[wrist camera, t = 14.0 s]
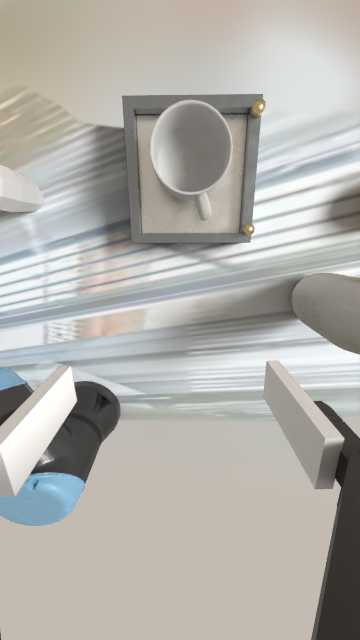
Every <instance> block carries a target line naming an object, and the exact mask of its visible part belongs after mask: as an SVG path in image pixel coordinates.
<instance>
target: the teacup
mask: <svg viewBox="0 0 360 640" xmlns="http://www.w3.org/2000/svg"><path fill="white" fill-rule="evenodd" d="M149 147H150V148H149V149H150V159H151V163H152V166H153V168H154V171H155V174H156V177H157V179H158V181H159V183H160V184H161V186H162V187H163V188H164V189H165V191H166V192H168V193H169V194H170V195H172V196H173V197H175V198H177V199H181V200H194V202H195V205H196V208H197V211H198V214H199V216H200V219H201V220H202V221H205V220H208V219H210V218H211V215H212V212H211V206H210V202H209V199H208V196H207V194H208V193H209V192H210V191H211V190H212V189H213V188H214V187H215V186H216V185H217V184H218V183H219V182H220V181H221V180H222V179H223V177H224V176H225V174H226V172H227V170H228V168H229V165H230V162H231V158H232V137H231V133H230V130H229V127H228V125H227V123H226V121H225V119H224V118H223V116H222V115H221V114H220V113H219V112H218V111H217V110H216V109H215V108H214V107H212V106H211V105H209V104H208V103H205V102H202V101H198V100H183V101H179V102H177V103H175V104H173V105H171V106H170V107H168V108H167V109H166V110H165V111H164V112H162V114H161V115H160V116H159V118H158V119H157V121H156V123H155V125H154V128H153V130H152V133H151V138H150V144H149Z"/></svg>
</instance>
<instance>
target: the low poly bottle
mask: <svg viewBox="0 0 360 640" xmlns="http://www.w3.org/2000/svg"><path fill="white" fill-rule="evenodd" d="M42 205H43V193H42V192H41V191H40V190H39V188H38V187H37V186H36V185H35V184H33V183H32V182H30V181H28V180H27V179H25V178H24V177H22V176H20V175H19V174H17V173H16V172H14V171H13V170H11V169H9V168H7V167H4V166H2V165H0V210H3V211H8V212H35V211H37V210H38V209H39V208H40V207H41V206H42Z"/></svg>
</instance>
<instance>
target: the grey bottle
mask: <svg viewBox="0 0 360 640" xmlns="http://www.w3.org/2000/svg"><path fill="white" fill-rule="evenodd" d="M291 303H292V308H293V311H294V313H295V314H296V316H297V317H298V318H299V319H300V320H301V321H302V322H303V323H304V324H306V325H307V326H309V327H310V328H311V329H313V330H314V331H316V332H317V333H319V334H320V335H321V336H323V337H324V338H325V339H327V340H328V341H330V342H331V343H333V344H334V345H336V346H338V347H340V348H342V349H344V350H347V351H350V352H353V353H356V354H360V278H356V277H350V276H345V275H340V274H333V273H318V274H312V275H309V276H307V277H304V278H303V279H301V280H300V281H299V282H298V283H297V285H296V286H295V288H294V290H293V292H292V297H291Z"/></svg>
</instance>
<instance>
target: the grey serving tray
mask: <svg viewBox="0 0 360 640" xmlns="http://www.w3.org/2000/svg"><path fill="white" fill-rule="evenodd" d="M262 98H263V94H245V95H244V94H238V95H149V96H148V95H147V96H122V99H123V116H124V131H125V147H126V162H127V177H128V193H129V208H130V223H131V239H132V243H250V240H251V234H252V233H253V232H254V226H253V225H252V216H253V204H254V192H255V180H256V169H257V157H258V145H259V133H260V121H261V113H262V112H263V110H264V108H265V101H264V100H263V99H262ZM183 100H198V101H202V102H205V103H208V104H209V105H211V106H212V107H214V108H215V109H216V110H217V111H218V112H219V113H220V114H221V115H222V116H223V118H224V119H225V121H226V123H227V125H228V127H229V130H230V133H231V137H232V158H231V162H230V165H229V168H228V170H227V172H226V174H225V176H224V177H223V179H222V180H221V181H220V182H219V183H218V184H217V185H216V186H215V187H214V188H213V189H212V190H211V191H210V192H209V193H208V194H207V196H208V199H209V202H210V206H211V212H212V215H211V218H210V219H208V220H205V221H202V220H201V219H200V216H199V214H198V211H197V208H196V205H195V202H194V200H181V199H177V198H175V197H173V196H172V195H170V194H169V193H168V192H166V191H165V189H164V188H163V187H162V186H161V184H160V183H159V181H158V179H157V177H156V174H155V171H154V168H153V166H152V163H151V159H150V149H149V148H150V147H149V144H150V138H151V133H152V130H153V128H154V125H155V123H156V121H157V119H158V118H159V116H160V115H161V114H162V112H164V111H165V110H166V109H167V108H168V107H170V106H171V105H173V104H175V103H177V102H179V101H183Z"/></svg>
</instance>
